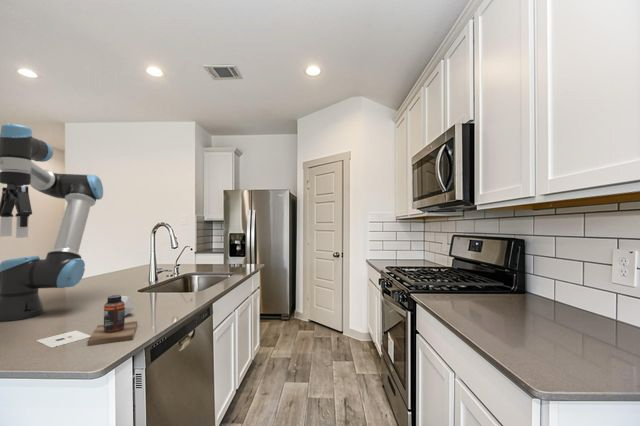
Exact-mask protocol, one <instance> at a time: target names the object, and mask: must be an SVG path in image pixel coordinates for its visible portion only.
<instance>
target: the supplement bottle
mask: <svg viewBox="0 0 640 426" xmlns="http://www.w3.org/2000/svg"><path fill="white" fill-rule="evenodd" d="M121 296H122V295H121V294H114V295H108V296H107V302H106V303H105V304H104V305H103V325H104V331H105V332H116V331H120V330H122V329H123V328H124V325H125V317H126V316H125V303H124V302H123V301H122V300H121V299H122V298H121Z"/></svg>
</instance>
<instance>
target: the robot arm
mask: <svg viewBox="0 0 640 426" xmlns="http://www.w3.org/2000/svg"><path fill="white" fill-rule="evenodd" d="M53 155H54V150H53V147H52V146H51V144H49V143H47V142H45V141H44V140H42V139H38V138H35V137H34V135H33V131H32V129H31V127H29V126H27V125H23V124H17V123H4V124H2V125H1V128H0V184H2V185H6V187H2V188H1V189H2V192H1V196H0V237H12V236H13V235H12V234H13V217H14V216H15V218H16V223H15V225H16V226H15V227H16V228H15V229H16V230H15V238H18V239H19V238H24V239H25V238H29V222H30V221H29V217H31V215H33V210H32V204H31V199H30V194H29V186H31V188H32V189H34V190H36V191H37V192H40V193H42V194H44V195H46V196H49V197H52V198H57V199H61V200H63V199H64V200H65V202H66V207H65V209H64V210H65V211H64V214H63V217H62V219H61V224H60V226H59V230H58V233H57V236H56V240H55V243H54V246H53V249H52V250H50V251H48V252H47V253H46V256H45V259H43V258H42V259H40V256H39V255H32V256H25V257H24V256H23V257H18V258H12V259H11V258H10V259H6V260H3V261H1V262H0V322H9V321H18V320H25V319H29V318H33V317H36V316H40V315H41V314H43V313H44V305H43V302H42V300H41V298H40V297H41V296H40V295H39V290H40V289H64V288H72V287H75V286H76V285H77V284H79V283H80V282H81V281H82V279H83V277H84V274H85V270H86V268H85V267H86V264H85V261H84V259H82V255H81V254H80V253H79V252H80V247H81V244H82V241H83V235H84V232H85V228H86V225H87V221H88V217H89V213H90V210H91V207H93V206H95V204H96V202H97V200H98V201H99V200H102V198H103V197H104V187H103V183H102V180H101V178H100V177H99V176H98V175H96V174H89V173H88V174H79V173H78V174H77V173H76V174H73V173H57V172H52V171H50V170H48V169H43V168H42V167H40V166H39V165H37V164H36V163H35V162H41V163H43V162H44V163H45V162H48V161H49V160H50V159H52V158H53ZM14 208H15V209H16V212H17V213H15V215H14V214H13V211H14Z"/></svg>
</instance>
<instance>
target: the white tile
mask: <svg viewBox="0 0 640 426" xmlns="http://www.w3.org/2000/svg"><path fill="white" fill-rule="evenodd" d="M90 336H91V334H90V335H89V334H87V333H84V332H82V331H79V330H73V331H68V332H65V333H61V334H56V335H53V336H48V337H44V338H40V339H37V340H35V341H36V342H38V343H40V344H42V345H44V346H47V347H48V348H51V349H52V348H56V346H57V347H60V346H63V345H67V344H70V343H74V342H78V341H81V340H82V341H83V340H84V339H89V338H90Z"/></svg>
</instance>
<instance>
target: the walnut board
mask: <svg viewBox="0 0 640 426" xmlns="http://www.w3.org/2000/svg"><path fill="white" fill-rule="evenodd" d="M137 327H138V320H131V321H126V322H125V325H124V328H123V329H122V330H120V331H116V332H105V331H104V324H98V325H97V326H96V328H95V329H94V331H93V332H92V333H91V334H90V337H89V338H87V346H88V347H89V346H95V345H104V344H110V343H118V342H119V343H120V342H127V341H133V339H134V337H135V333H136V330H137Z"/></svg>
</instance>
